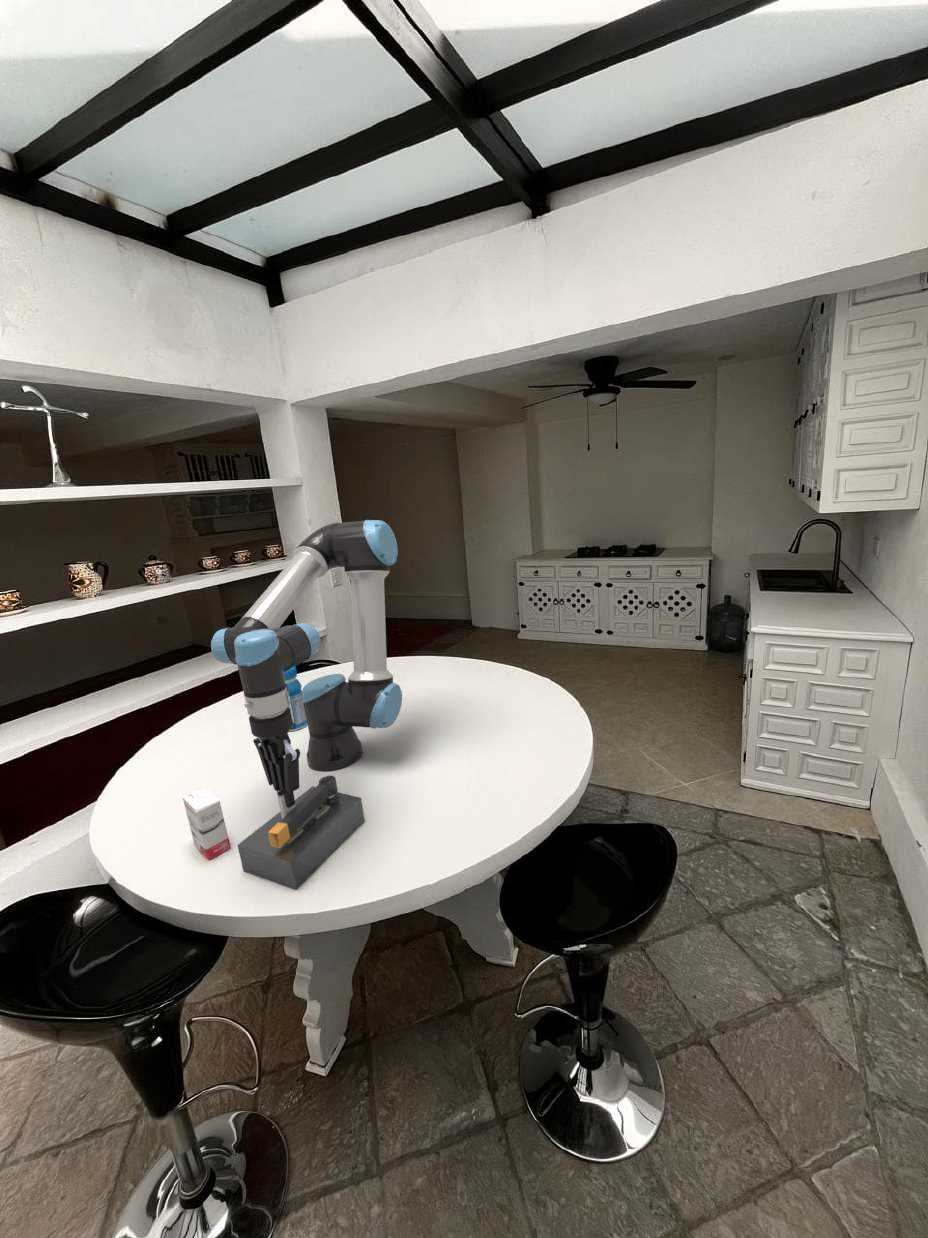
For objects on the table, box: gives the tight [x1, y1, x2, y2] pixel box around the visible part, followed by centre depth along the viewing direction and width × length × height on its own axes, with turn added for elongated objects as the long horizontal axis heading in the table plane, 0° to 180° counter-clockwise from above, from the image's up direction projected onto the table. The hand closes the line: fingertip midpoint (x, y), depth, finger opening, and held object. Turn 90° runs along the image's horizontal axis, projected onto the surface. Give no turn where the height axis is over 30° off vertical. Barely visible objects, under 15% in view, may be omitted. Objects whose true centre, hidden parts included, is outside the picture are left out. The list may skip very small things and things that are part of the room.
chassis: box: [237, 786, 366, 891], centre depth 104 cm, size 14×21×7 cm, turn 154°
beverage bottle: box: [284, 666, 308, 732], centre depth 161 cm, size 8×8×20 cm
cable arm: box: [268, 775, 338, 848], centre depth 103 cm, size 4×20×3 cm, turn 161°
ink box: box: [182, 787, 232, 861], centre depth 106 cm, size 8×5×12 cm, turn 47°
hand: (290, 818), depth 102 cm, fingers closed
